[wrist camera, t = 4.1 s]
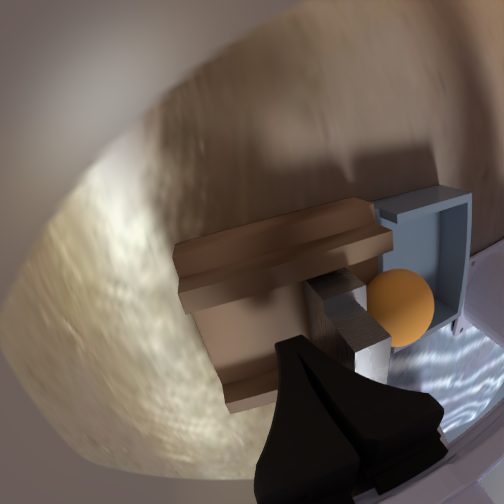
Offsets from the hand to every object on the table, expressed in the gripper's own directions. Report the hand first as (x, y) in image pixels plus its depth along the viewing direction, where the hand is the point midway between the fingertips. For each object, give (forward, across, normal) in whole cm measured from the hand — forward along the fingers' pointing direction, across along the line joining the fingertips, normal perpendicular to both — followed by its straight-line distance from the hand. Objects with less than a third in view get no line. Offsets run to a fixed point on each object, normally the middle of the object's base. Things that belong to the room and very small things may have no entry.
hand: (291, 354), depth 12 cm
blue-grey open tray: (+4, -10, 0) cm, 11 cm away
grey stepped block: (+2, -3, 0) cm, 3 cm away
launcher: (+4, -1, 0) cm, 5 cm away
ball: (0, -6, 0) cm, 6 cm away
